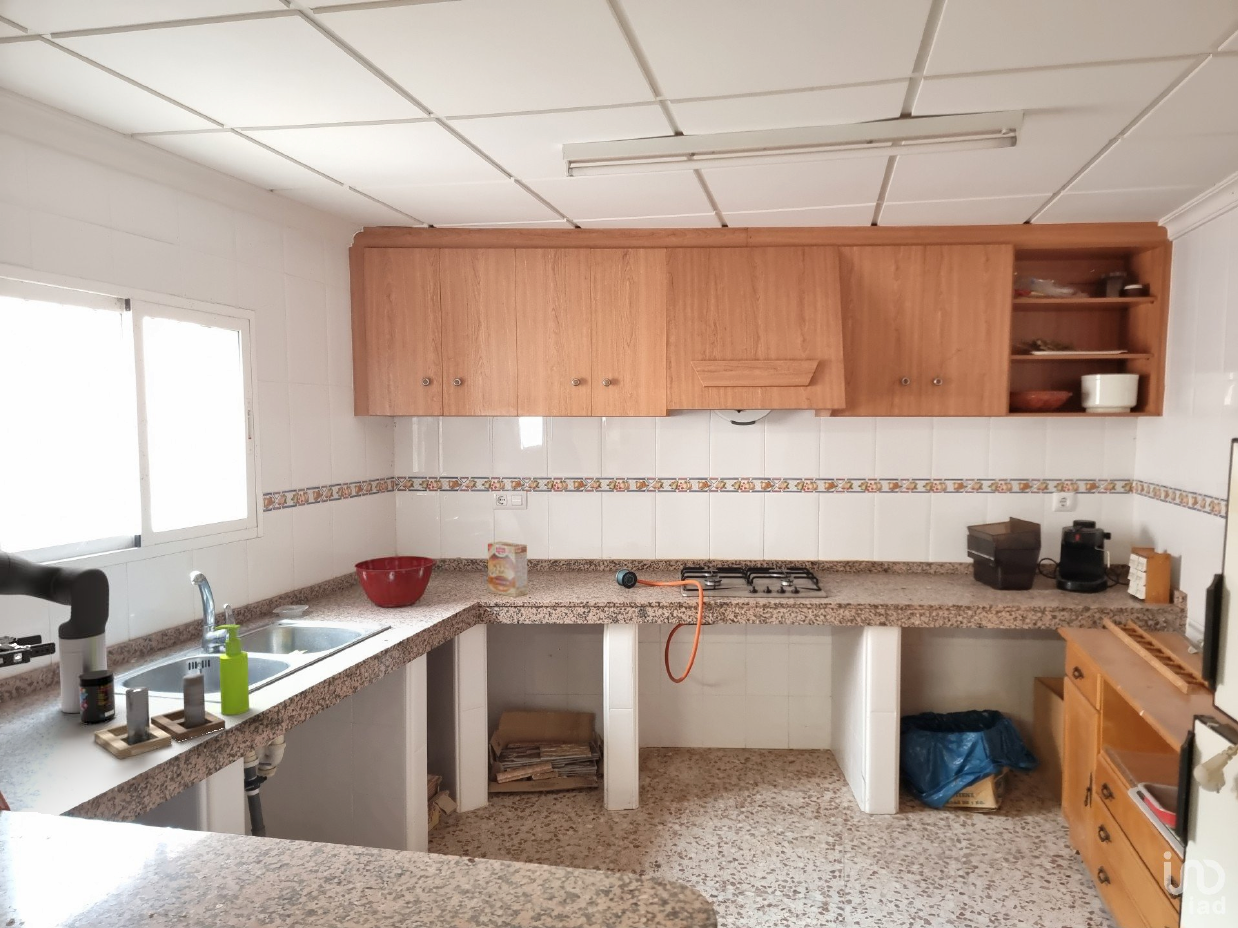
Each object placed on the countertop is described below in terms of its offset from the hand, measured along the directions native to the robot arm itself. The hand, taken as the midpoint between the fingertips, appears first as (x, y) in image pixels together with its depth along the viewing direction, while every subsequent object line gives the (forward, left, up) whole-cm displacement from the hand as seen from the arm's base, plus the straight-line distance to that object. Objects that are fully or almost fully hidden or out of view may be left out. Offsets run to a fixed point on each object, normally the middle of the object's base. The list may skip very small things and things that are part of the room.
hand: (47, 643), depth 154 cm
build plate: (-4, +15, -25) cm, 29 cm away
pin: (0, +15, -25) cm, 29 cm away
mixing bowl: (-71, +126, -25) cm, 147 cm away
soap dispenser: (-6, +37, -25) cm, 45 cm away
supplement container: (-24, +15, -25) cm, 38 cm away
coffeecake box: (-52, +164, -25) cm, 174 cm away
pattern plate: (-4, +26, -25) cm, 36 cm away
